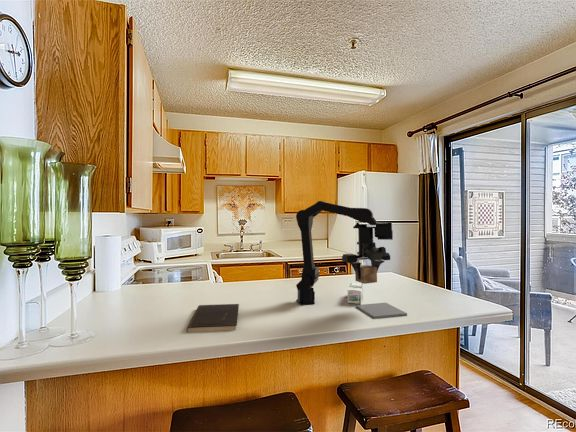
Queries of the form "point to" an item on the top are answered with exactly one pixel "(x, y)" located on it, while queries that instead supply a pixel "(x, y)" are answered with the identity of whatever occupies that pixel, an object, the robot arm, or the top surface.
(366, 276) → the walnut cube
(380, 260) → the robot arm
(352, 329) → the top surface
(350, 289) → the syrup box
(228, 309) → the hardcover book
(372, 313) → the trivet
